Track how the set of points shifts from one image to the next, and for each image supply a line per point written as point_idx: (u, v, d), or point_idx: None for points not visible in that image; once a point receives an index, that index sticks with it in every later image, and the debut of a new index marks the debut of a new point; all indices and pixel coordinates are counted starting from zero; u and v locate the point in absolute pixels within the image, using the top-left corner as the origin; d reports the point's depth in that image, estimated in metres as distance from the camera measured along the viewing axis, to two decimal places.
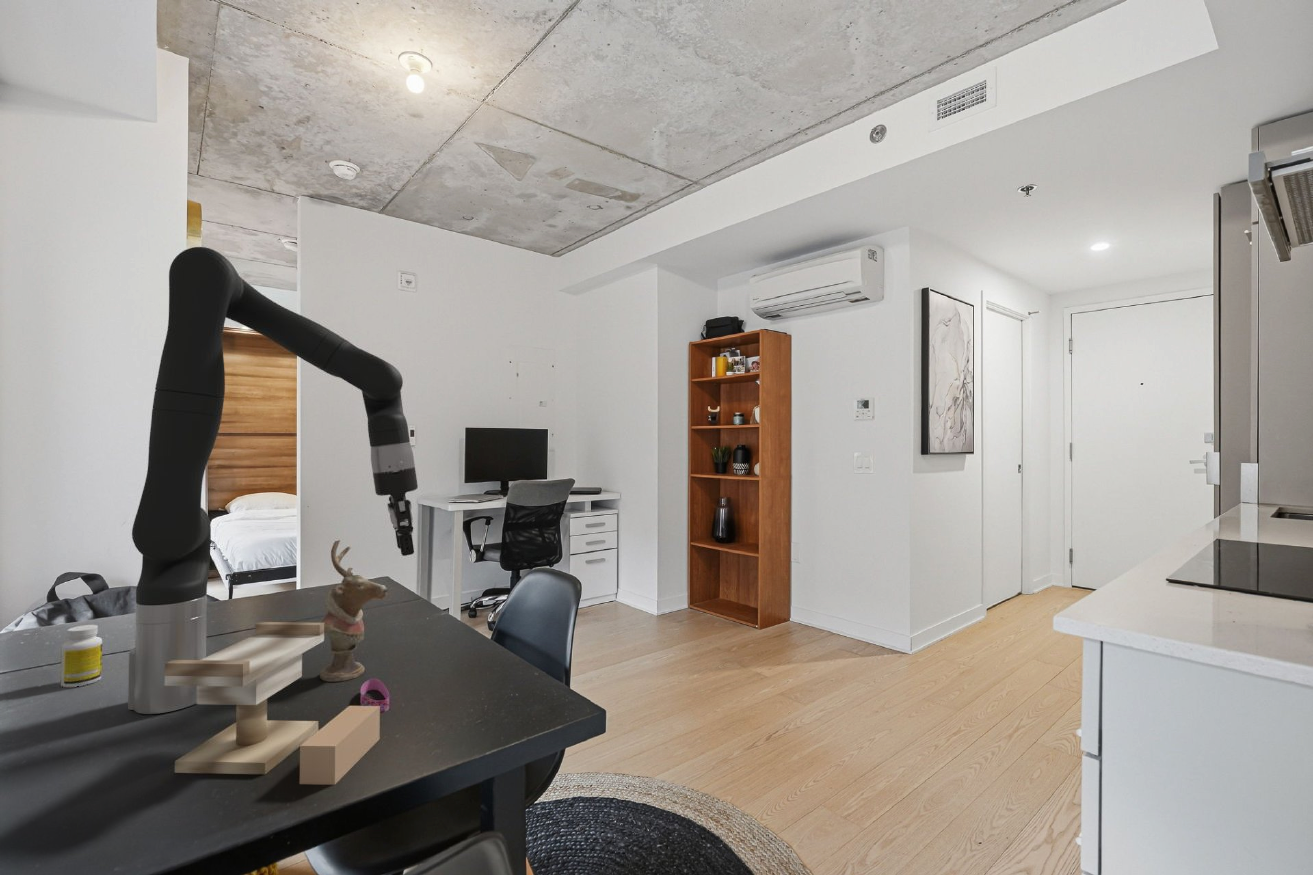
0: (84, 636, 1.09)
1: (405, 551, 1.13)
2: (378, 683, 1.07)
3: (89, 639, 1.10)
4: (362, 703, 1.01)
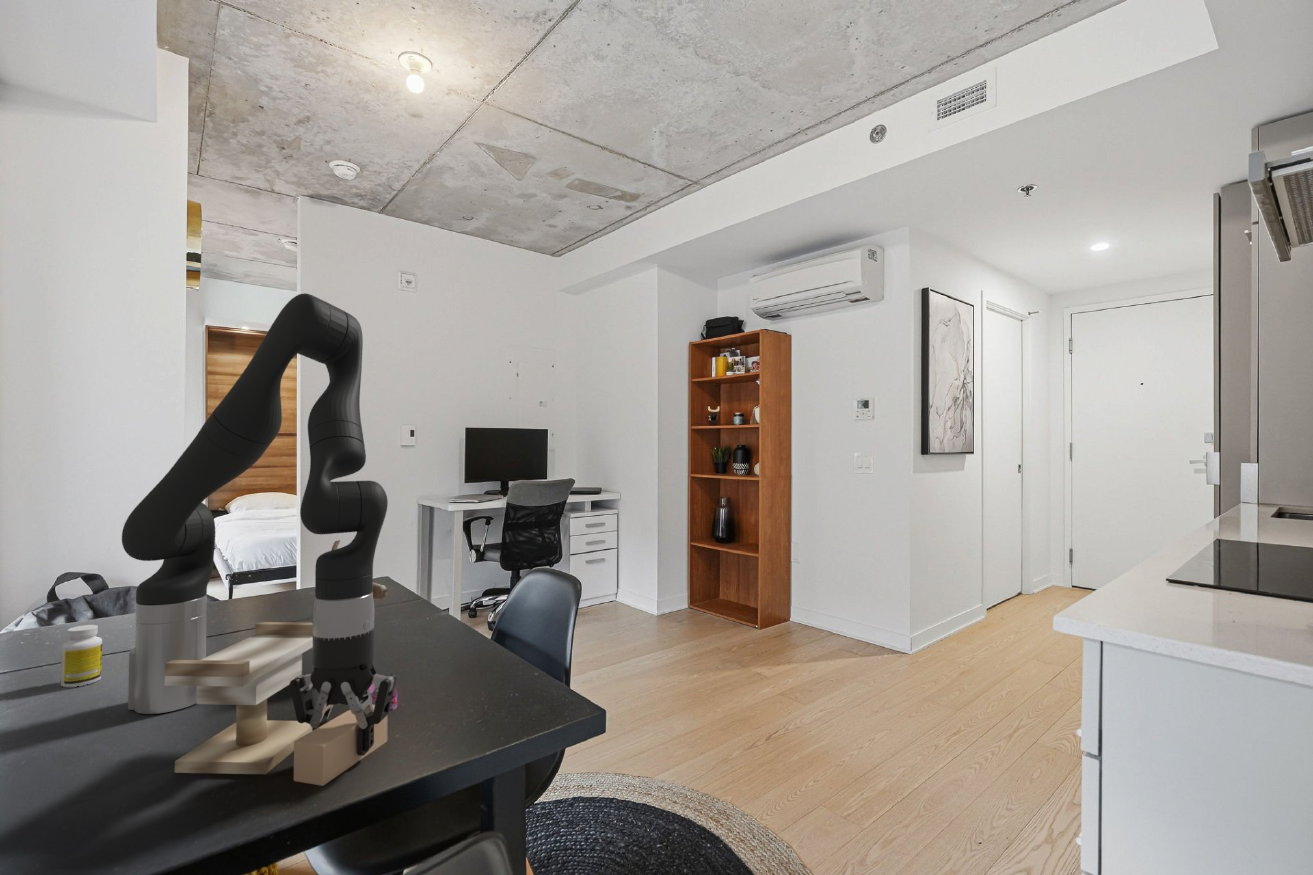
0: (84, 636, 1.09)
1: None
2: None
3: (89, 639, 1.10)
4: None
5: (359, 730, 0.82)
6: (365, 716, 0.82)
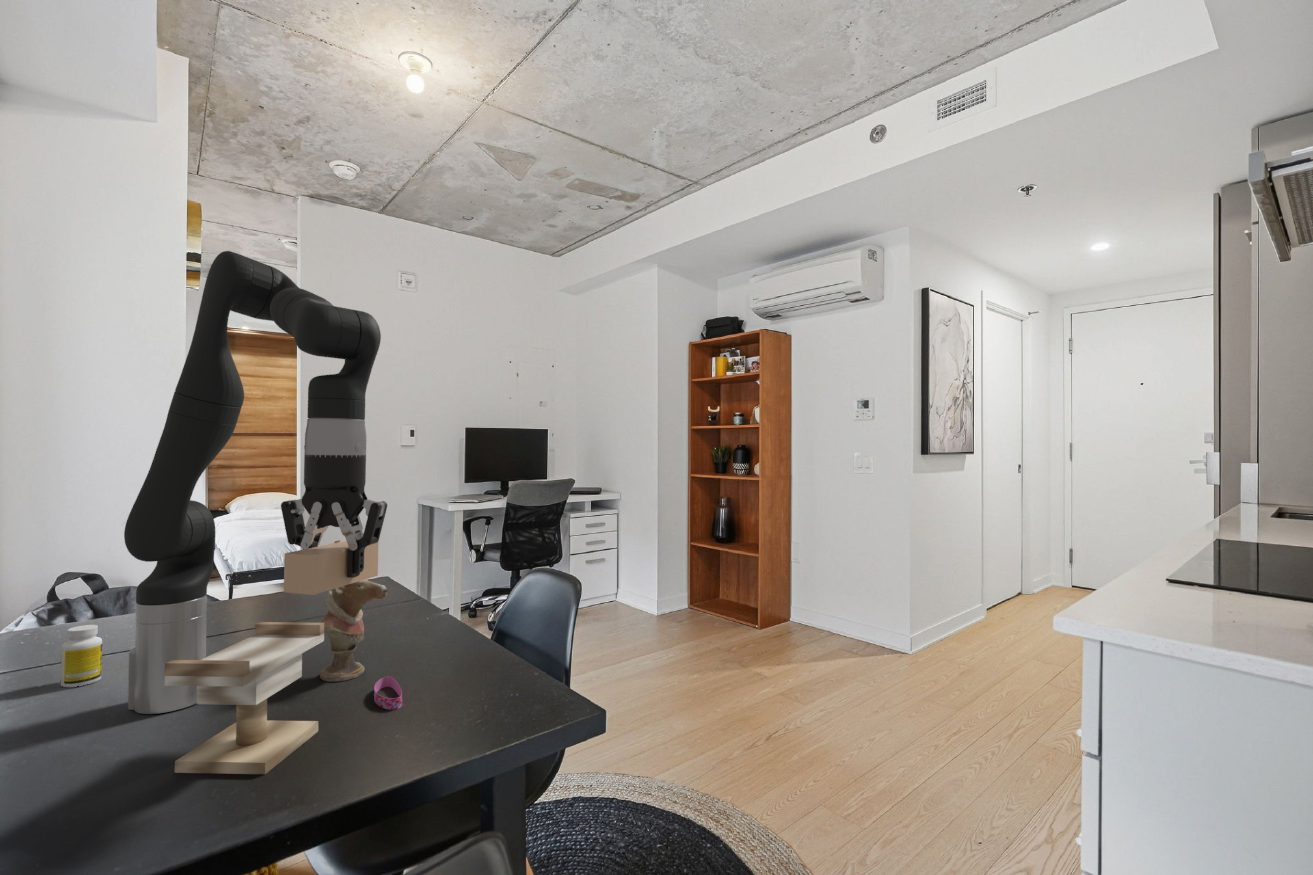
0: (84, 636, 1.09)
1: None
2: (391, 680, 1.08)
3: (89, 639, 1.10)
4: (376, 700, 1.02)
5: (349, 552, 0.83)
6: (355, 538, 0.83)
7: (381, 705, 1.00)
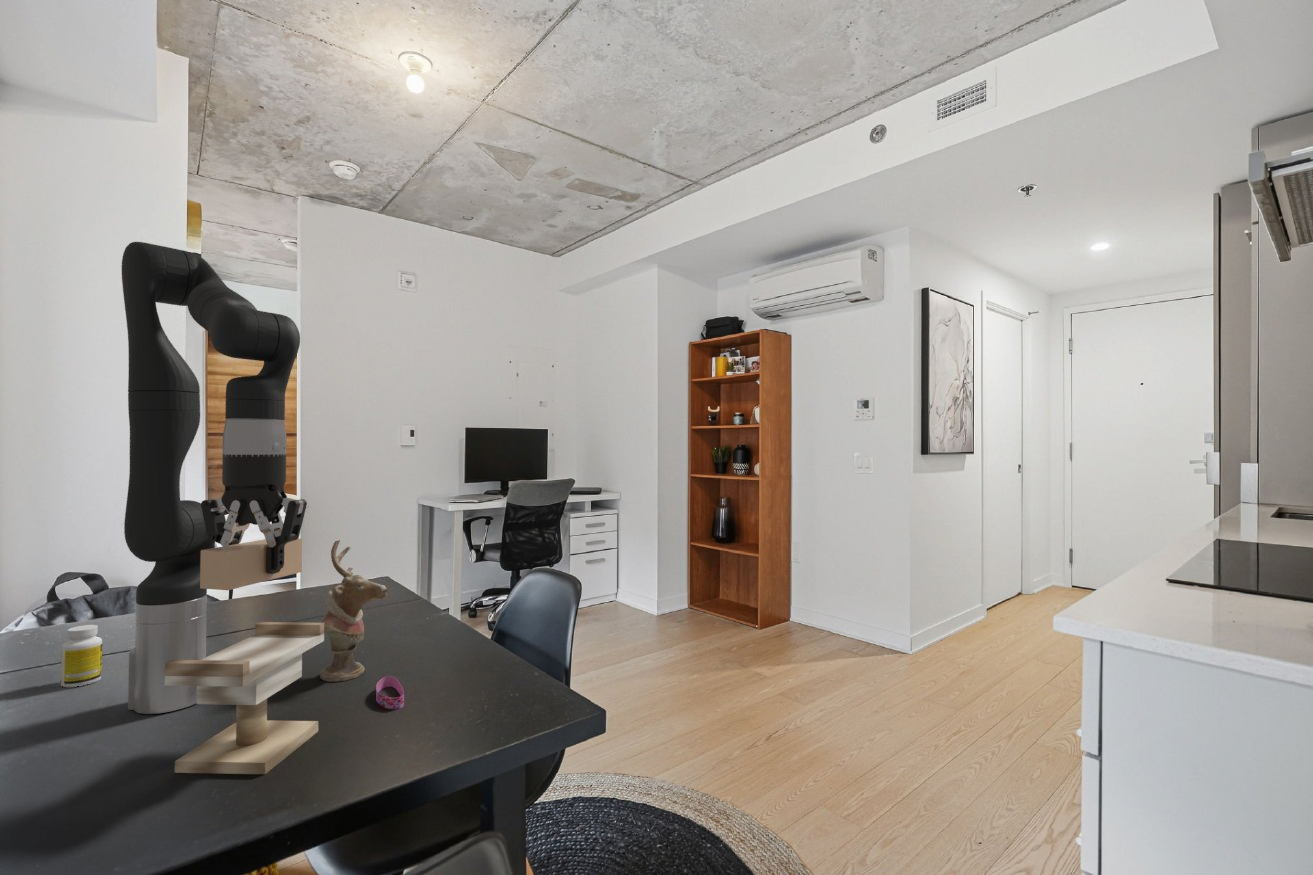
0: (84, 636, 1.09)
1: None
2: (393, 680, 1.09)
3: (89, 638, 1.10)
4: (377, 700, 1.02)
5: (268, 549, 0.85)
6: (274, 535, 0.85)
7: (383, 704, 1.00)
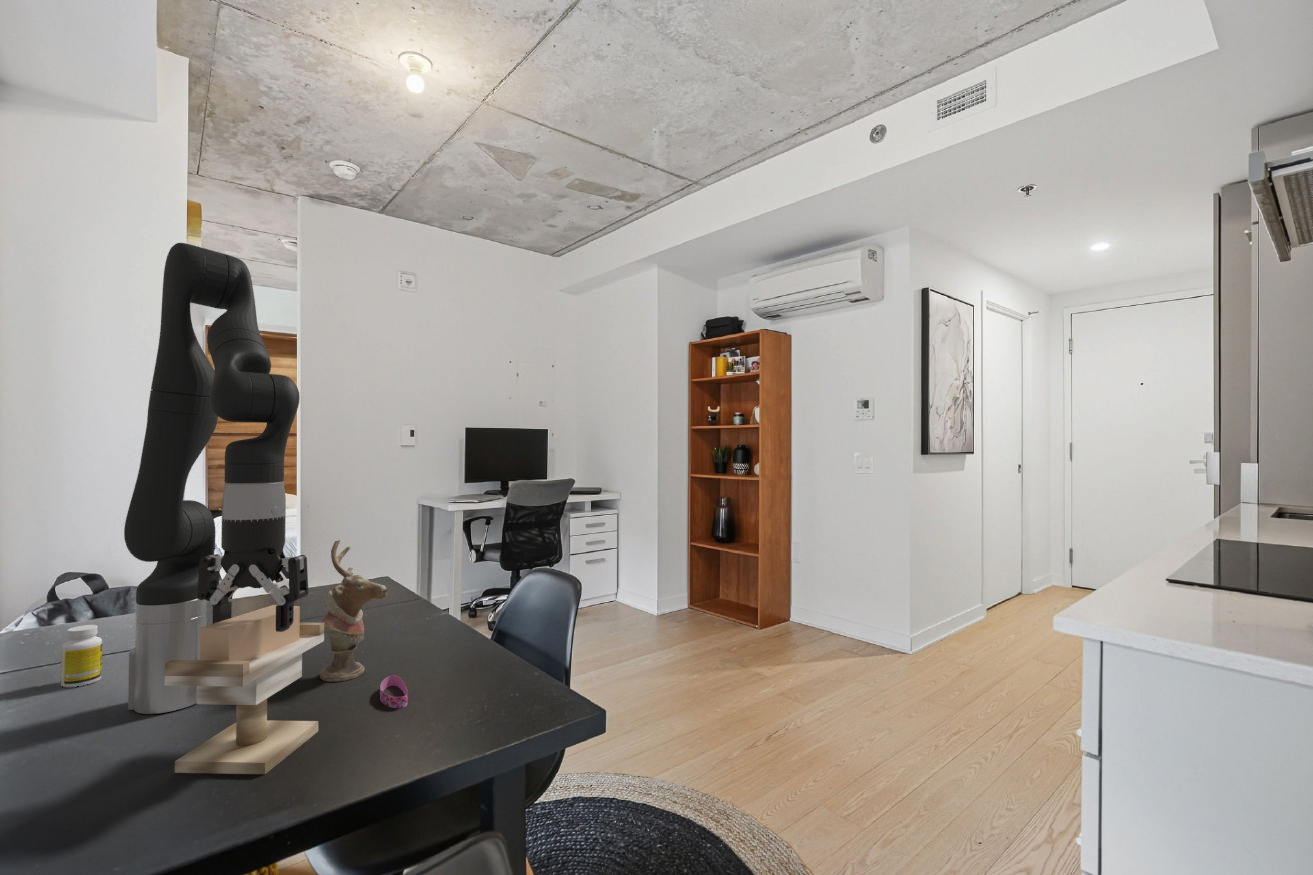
0: (84, 636, 1.09)
1: None
2: (397, 679, 1.09)
3: (88, 639, 1.10)
4: (381, 699, 1.02)
5: (277, 607, 0.85)
6: (281, 593, 0.85)
7: (387, 704, 1.01)
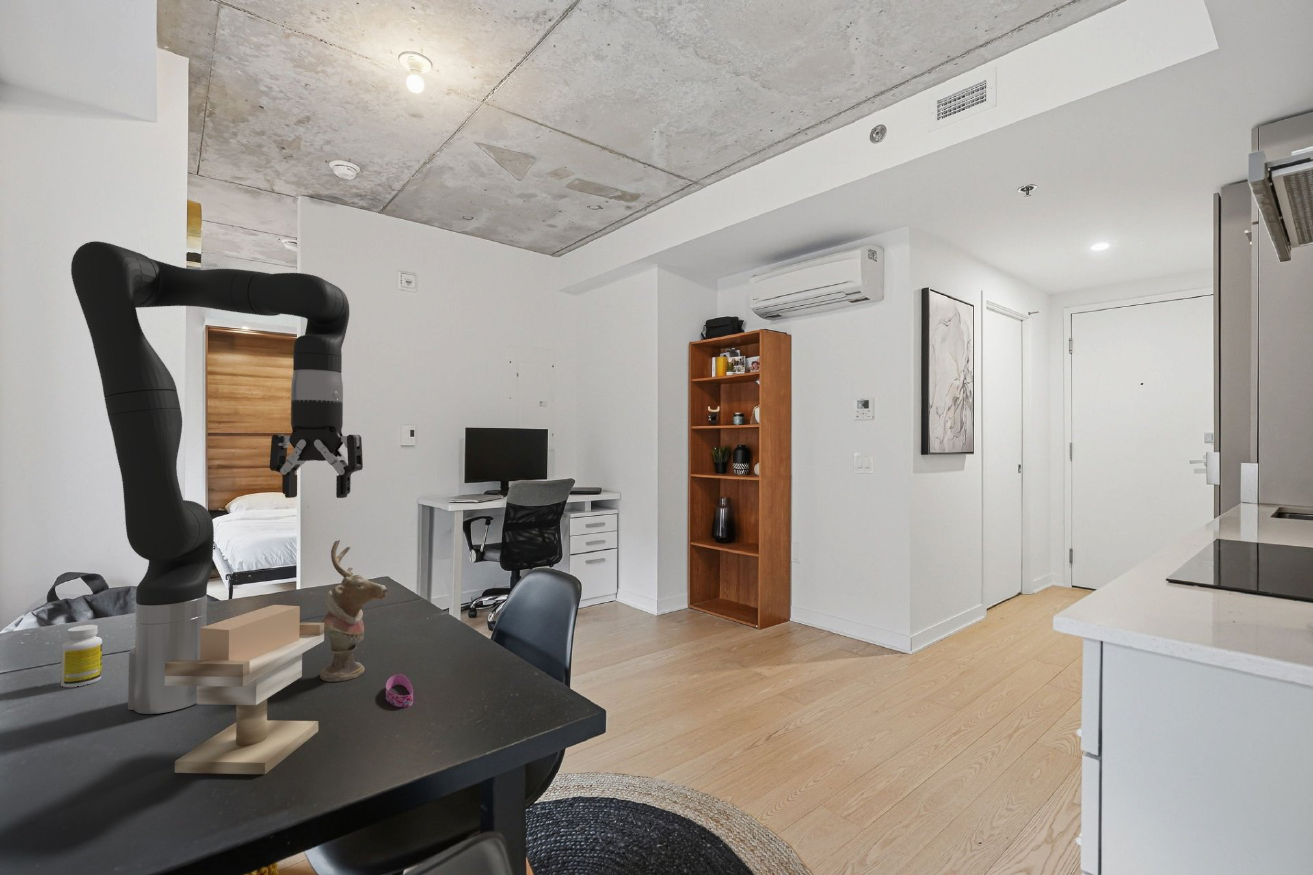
0: (84, 636, 1.09)
1: None
2: (403, 678, 1.09)
3: (88, 639, 1.10)
4: (387, 698, 1.03)
5: (338, 476, 1.00)
6: (341, 465, 1.00)
7: (392, 702, 1.01)
